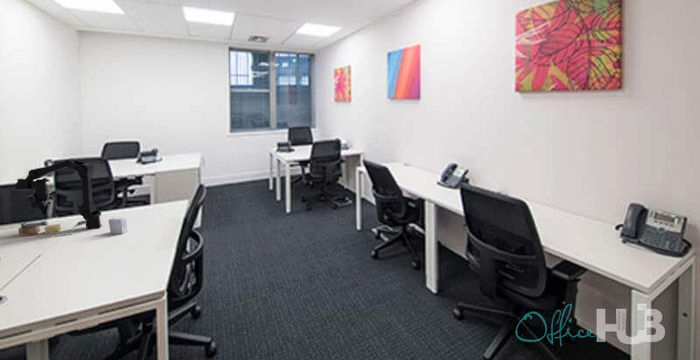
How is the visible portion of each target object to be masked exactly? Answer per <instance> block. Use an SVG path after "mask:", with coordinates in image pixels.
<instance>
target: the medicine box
mask: <svg viewBox="0 0 700 360" xmlns="http://www.w3.org/2000/svg"><path fill="white" fill-rule="evenodd" d="M108 224H109V225H108V226H109V232H110V234H121V235H123V234H125V233H127V232H129V229H128V223H127V217H119V216H118V217H116V216H114V217H111V218H109V219H108Z"/></svg>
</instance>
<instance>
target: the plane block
mask: <svg viewBox="0 0 700 360" xmlns="http://www.w3.org/2000/svg"><path fill="white" fill-rule="evenodd" d="M17 231H18V234H19V238H21V237H22V238H23V237H29V236H36V235H37V234H38V233H40V232H41V228H40V226H35V227H26V228H21V227H20V228H18V229H17Z"/></svg>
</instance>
